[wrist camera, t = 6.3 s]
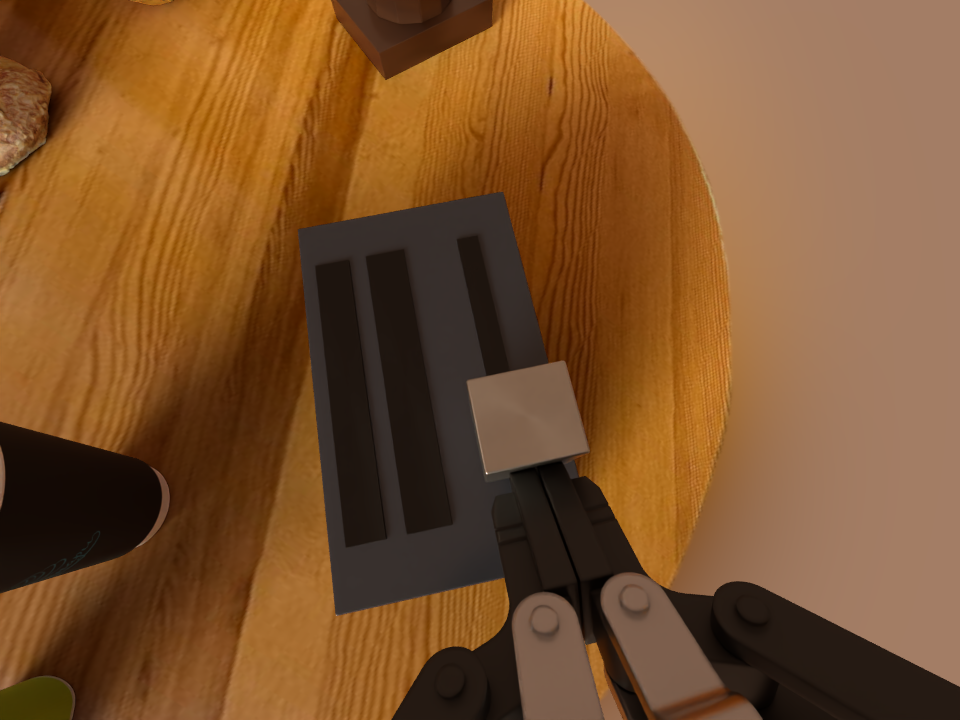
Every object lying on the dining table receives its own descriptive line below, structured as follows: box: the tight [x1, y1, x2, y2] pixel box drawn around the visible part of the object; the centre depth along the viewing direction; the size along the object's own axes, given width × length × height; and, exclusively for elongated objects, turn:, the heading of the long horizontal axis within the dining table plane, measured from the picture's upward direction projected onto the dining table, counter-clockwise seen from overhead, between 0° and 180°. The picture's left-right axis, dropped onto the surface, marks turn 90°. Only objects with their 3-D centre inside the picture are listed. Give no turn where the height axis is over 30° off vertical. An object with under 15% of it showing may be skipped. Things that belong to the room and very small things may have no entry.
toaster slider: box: [466, 361, 590, 482], centre depth 13 cm, size 2×3×5 cm
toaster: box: [298, 192, 579, 616], centre depth 22 cm, size 15×9×10 cm, turn 12°
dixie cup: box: [0, 422, 170, 593], centre depth 20 cm, size 8×8×11 cm
